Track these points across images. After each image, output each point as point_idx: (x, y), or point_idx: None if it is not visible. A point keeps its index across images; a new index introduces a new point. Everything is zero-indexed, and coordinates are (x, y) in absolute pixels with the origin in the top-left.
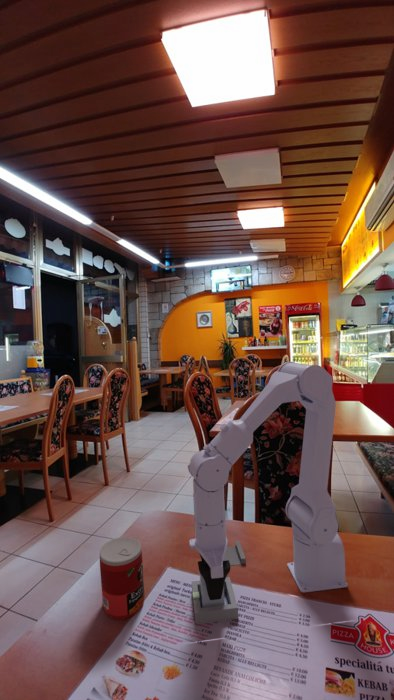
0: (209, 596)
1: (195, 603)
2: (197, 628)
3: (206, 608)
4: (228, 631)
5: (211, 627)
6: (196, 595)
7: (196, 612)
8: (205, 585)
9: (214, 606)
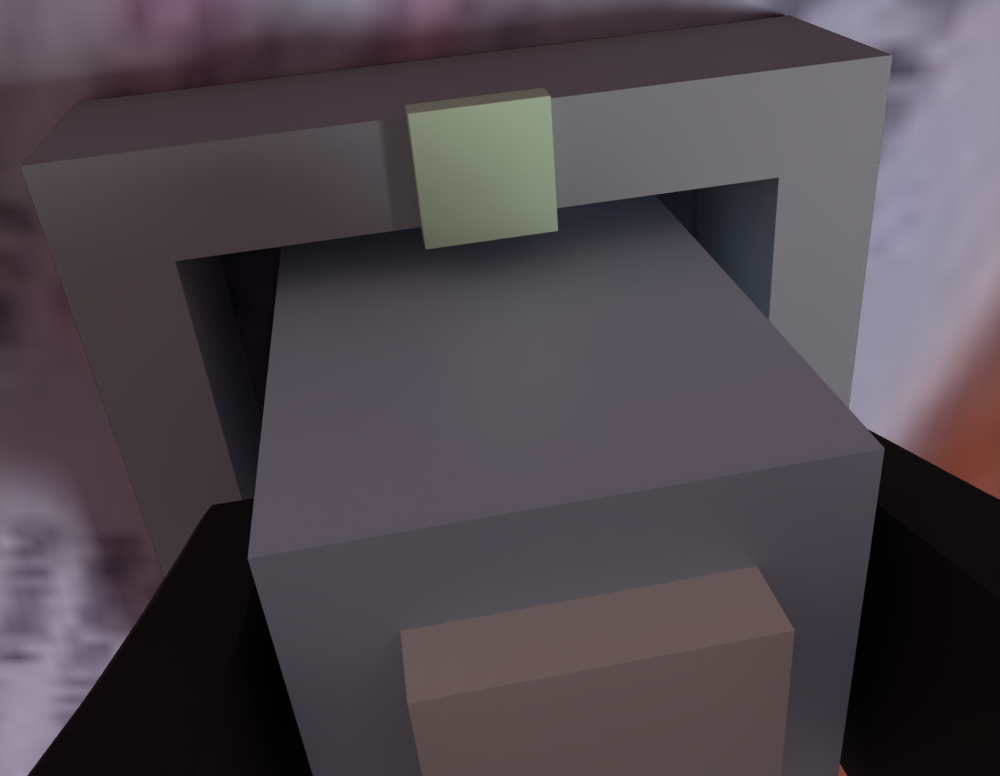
0: (182, 558)
1: (283, 160)
2: (20, 129)
3: (175, 369)
4: (47, 542)
5: (77, 340)
6: (463, 185)
7: (40, 191)
8: (280, 609)
9: (228, 492)
